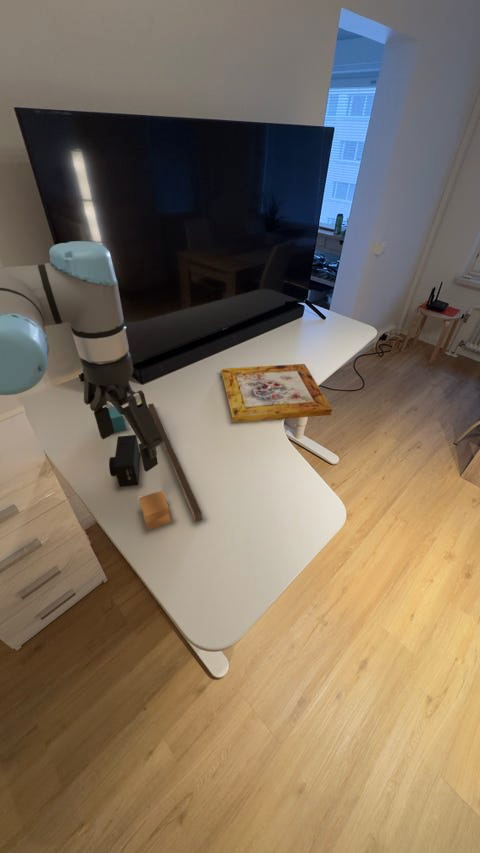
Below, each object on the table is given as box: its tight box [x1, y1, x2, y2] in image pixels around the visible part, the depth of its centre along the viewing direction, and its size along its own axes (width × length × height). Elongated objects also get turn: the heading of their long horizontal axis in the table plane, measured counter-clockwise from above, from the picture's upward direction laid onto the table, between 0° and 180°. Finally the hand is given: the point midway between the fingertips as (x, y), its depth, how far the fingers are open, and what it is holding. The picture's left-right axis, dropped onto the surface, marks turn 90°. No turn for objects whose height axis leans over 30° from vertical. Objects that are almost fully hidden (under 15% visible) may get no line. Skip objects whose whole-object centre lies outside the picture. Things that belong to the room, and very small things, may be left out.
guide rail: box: [147, 403, 203, 523], centre depth 87 cm, size 2×42×2 cm, turn 25°
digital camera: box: [108, 434, 141, 488], centre depth 81 cm, size 10×5×7 cm, turn 10°
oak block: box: [138, 490, 172, 531], centre depth 72 cm, size 5×5×5 cm
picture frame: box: [220, 363, 333, 424], centre depth 110 cm, size 27×2×30 cm
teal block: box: [107, 406, 127, 433], centre depth 94 cm, size 5×5×5 cm
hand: (128, 450), depth 68 cm, fingers open, 13 cm apart
